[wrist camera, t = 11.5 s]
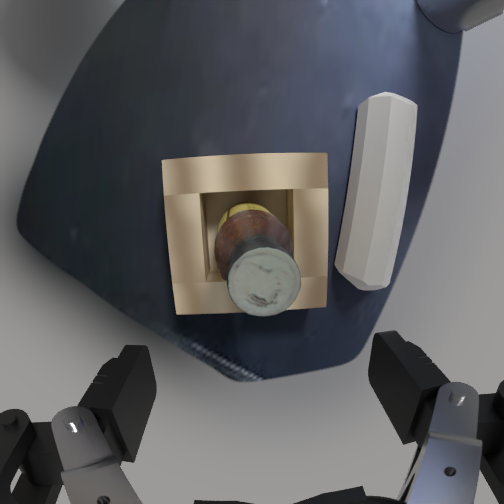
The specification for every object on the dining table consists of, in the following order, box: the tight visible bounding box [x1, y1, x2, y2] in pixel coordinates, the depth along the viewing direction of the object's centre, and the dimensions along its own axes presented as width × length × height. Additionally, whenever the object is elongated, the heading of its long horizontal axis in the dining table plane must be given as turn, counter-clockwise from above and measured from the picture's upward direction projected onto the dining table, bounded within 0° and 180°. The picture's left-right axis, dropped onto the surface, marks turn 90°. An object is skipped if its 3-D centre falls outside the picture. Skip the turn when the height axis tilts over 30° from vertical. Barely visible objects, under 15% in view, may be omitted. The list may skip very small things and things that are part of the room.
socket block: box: [162, 153, 328, 315], centre depth 34 cm, size 16×16×6 cm
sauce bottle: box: [214, 202, 301, 317], centre depth 27 cm, size 6×6×20 cm
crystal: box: [334, 92, 418, 290], centre depth 35 cm, size 7×7×24 cm
